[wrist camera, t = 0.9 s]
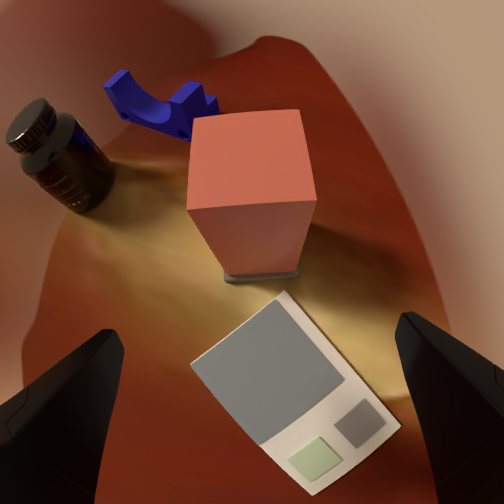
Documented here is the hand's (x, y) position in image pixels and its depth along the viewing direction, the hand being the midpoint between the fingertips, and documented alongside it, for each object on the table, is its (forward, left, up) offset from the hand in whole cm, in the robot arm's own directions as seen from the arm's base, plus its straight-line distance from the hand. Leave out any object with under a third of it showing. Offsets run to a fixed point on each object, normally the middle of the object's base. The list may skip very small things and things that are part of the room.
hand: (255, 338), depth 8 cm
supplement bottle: (+23, +5, -13) cm, 27 cm away
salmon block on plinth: (+6, -4, -13) cm, 15 cm away
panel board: (-6, +1, -13) cm, 14 cm away
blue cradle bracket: (+25, -6, -13) cm, 29 cm away
